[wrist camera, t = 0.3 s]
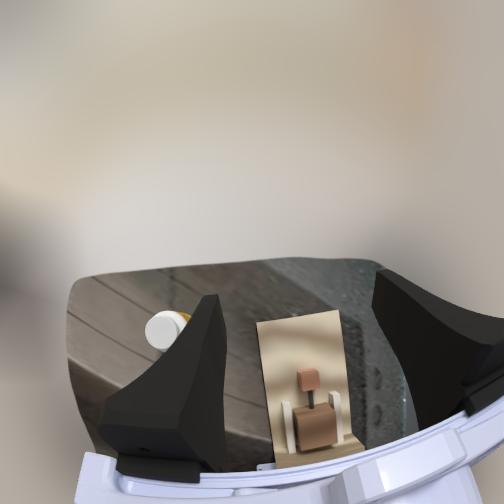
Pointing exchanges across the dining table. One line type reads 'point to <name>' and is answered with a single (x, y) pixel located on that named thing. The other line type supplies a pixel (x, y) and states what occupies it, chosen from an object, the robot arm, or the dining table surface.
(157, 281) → the dining table surface
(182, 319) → the supplement bottle
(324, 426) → the walnut block
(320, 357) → the shelf lane
